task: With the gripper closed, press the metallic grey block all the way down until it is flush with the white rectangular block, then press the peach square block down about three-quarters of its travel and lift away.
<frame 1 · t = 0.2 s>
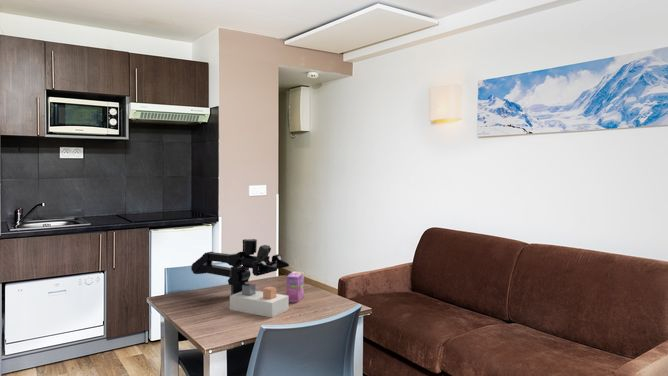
hand: (282, 267, 203), 17 cm above the table, tool horizontal, fingers open, 9 cm apart
metallic grey block: (248, 291, 197), point 7 cm above the table, slide at 0.0 cm
peach square block: (269, 294, 192), point 7 cm above the table, slide at 0.0 cm
white rectangular block: (259, 309, 195), on the table
box: (295, 299, 211), on the table
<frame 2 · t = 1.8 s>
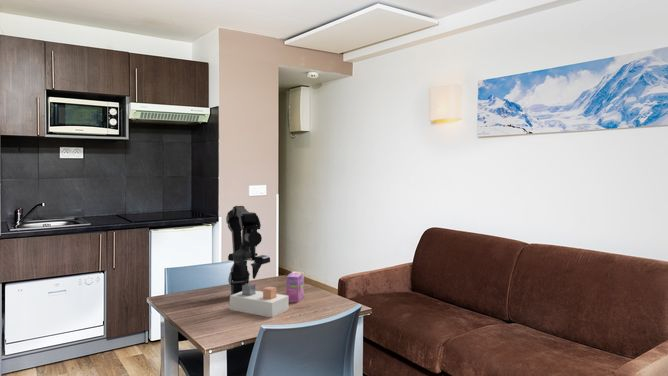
hand: (248, 278, 197), 13 cm above the table, tool pointing down, fingers open, 5 cm apart
nothing on the table moved.
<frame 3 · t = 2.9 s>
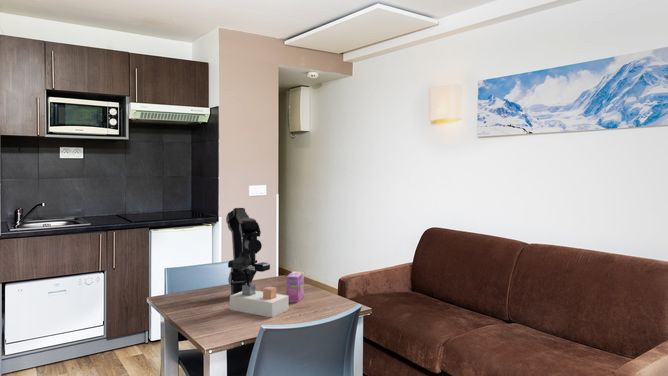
hand: (248, 285, 197), 10 cm above the table, tool pointing down, fingers closed, pressing on metallic grey block
metallic grey block: (248, 291, 197), point 7 cm above the table, slide at 0.0 cm, touching gripper
everything else where it was.
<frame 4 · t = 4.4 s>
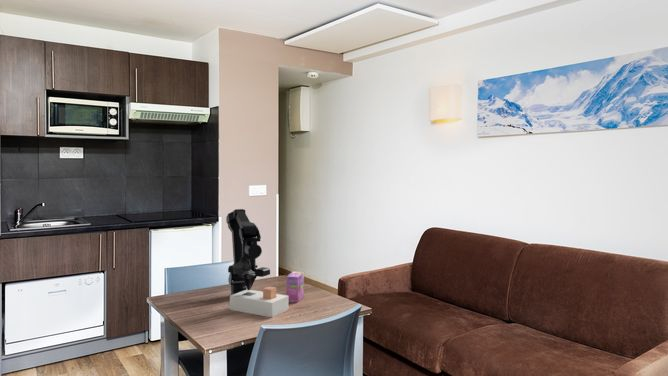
hand: (248, 290, 197), 8 cm above the table, tool pointing down, fingers closed
metallic grey block: (248, 300, 198), point 3 cm above the table, slide at 3.8 cm
everything else where it was.
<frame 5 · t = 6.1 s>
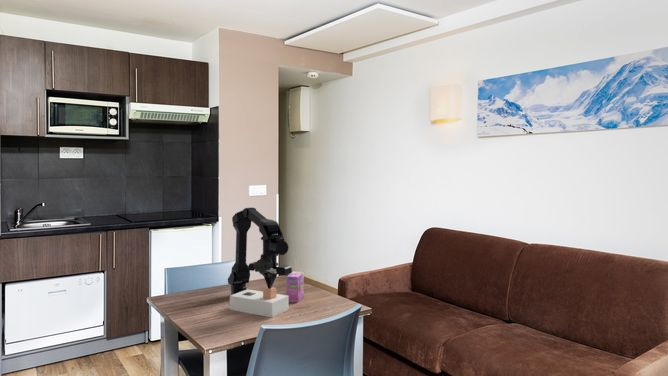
hand: (269, 288, 192), 10 cm above the table, tool pointing down, fingers closed, pressing on peach square block
peach square block: (269, 294, 192), point 7 cm above the table, slide at 0.1 cm, touching gripper
everything else where it was.
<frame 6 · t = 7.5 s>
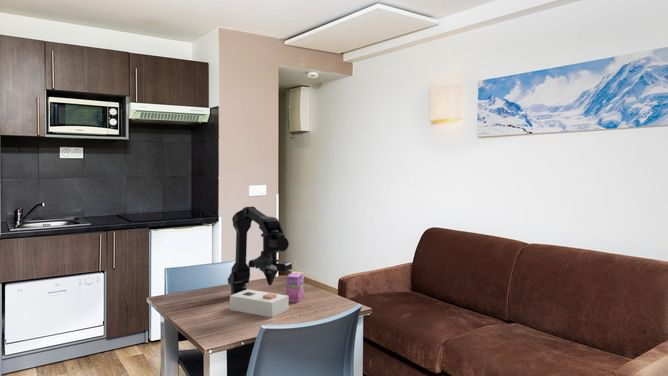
hand: (270, 285, 192), 11 cm above the table, tool pointing down, fingers closed
peach square block: (269, 301, 192), point 4 cm above the table, slide at 2.9 cm
everything else where it was.
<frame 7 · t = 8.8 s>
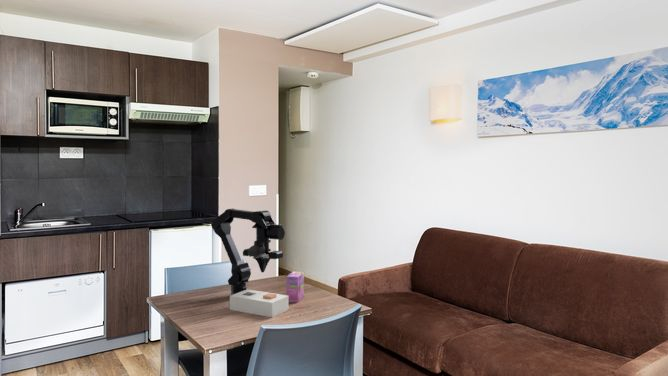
hand: (262, 272, 208), 13 cm above the table, tool pointing down, fingers closed
nothing on the table moved.
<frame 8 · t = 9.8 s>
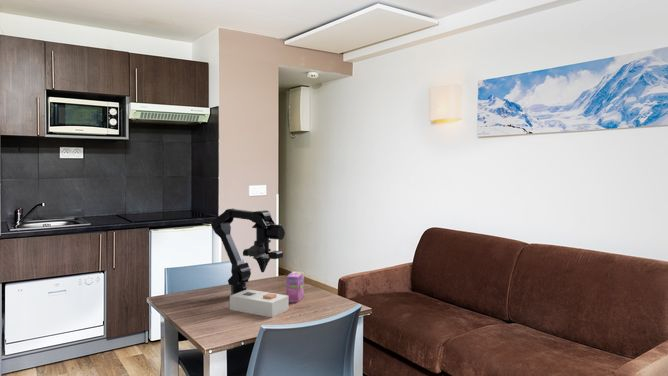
hand: (262, 272, 208), 13 cm above the table, tool pointing down, fingers closed
nothing on the table moved.
at the end: metallic grey block slide at 3.8 cm; peach square block slide at 2.9 cm; box moved 0.3 cm from its start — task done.
